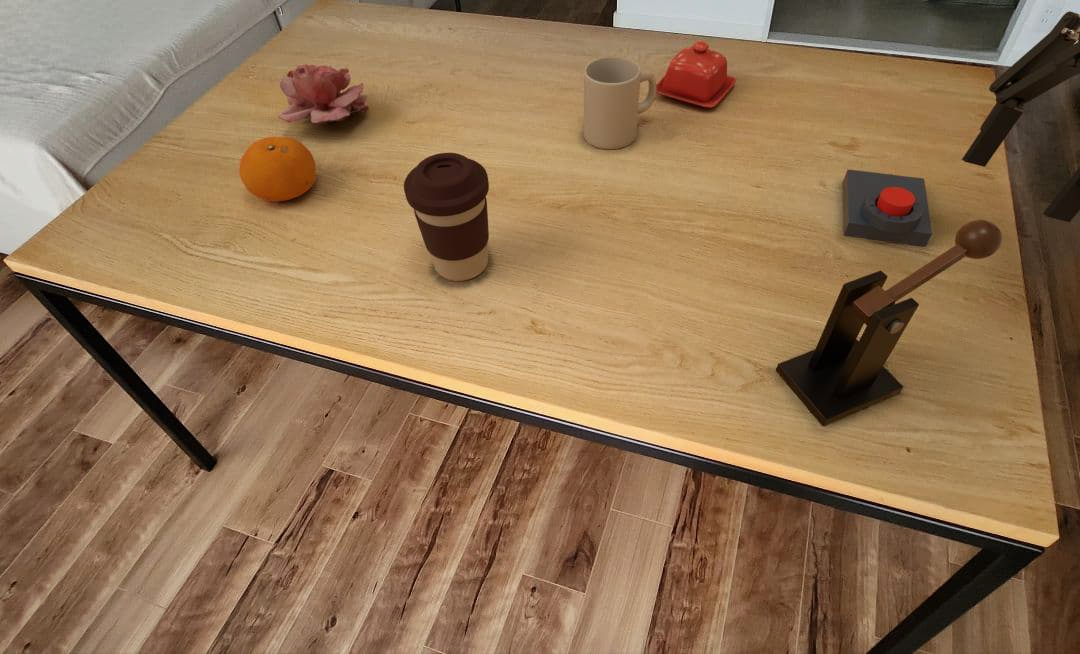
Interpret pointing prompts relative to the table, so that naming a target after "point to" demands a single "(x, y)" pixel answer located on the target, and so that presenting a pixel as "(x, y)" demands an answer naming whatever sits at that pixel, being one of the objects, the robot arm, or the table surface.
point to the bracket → (850, 356)
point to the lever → (934, 266)
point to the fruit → (277, 168)
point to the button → (895, 201)
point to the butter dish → (697, 76)
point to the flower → (320, 94)
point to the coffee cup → (451, 213)
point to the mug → (614, 101)
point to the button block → (878, 225)
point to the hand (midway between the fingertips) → (1011, 188)
